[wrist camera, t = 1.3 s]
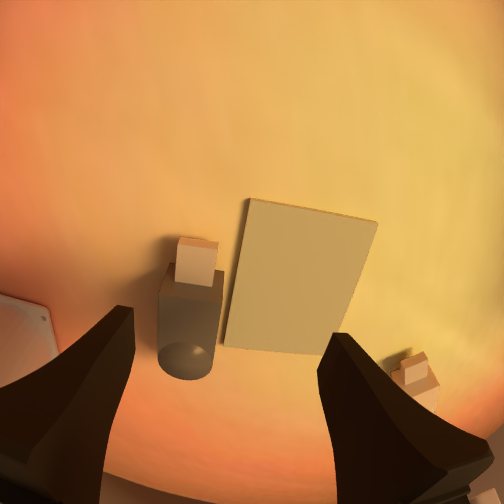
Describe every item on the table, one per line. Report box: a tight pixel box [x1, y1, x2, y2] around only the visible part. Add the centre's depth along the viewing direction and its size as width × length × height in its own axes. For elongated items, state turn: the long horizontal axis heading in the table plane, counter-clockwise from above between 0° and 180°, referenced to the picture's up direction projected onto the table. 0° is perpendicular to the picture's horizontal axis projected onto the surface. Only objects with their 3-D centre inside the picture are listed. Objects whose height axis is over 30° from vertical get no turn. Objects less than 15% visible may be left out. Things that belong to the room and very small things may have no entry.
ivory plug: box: [391, 351, 440, 414], centre depth 25 cm, size 9×4×4 cm, turn 20°
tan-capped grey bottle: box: [158, 237, 224, 380], centre depth 20 cm, size 9×4×4 cm, turn 170°
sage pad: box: [223, 198, 378, 356], centre depth 21 cm, size 11×8×1 cm
